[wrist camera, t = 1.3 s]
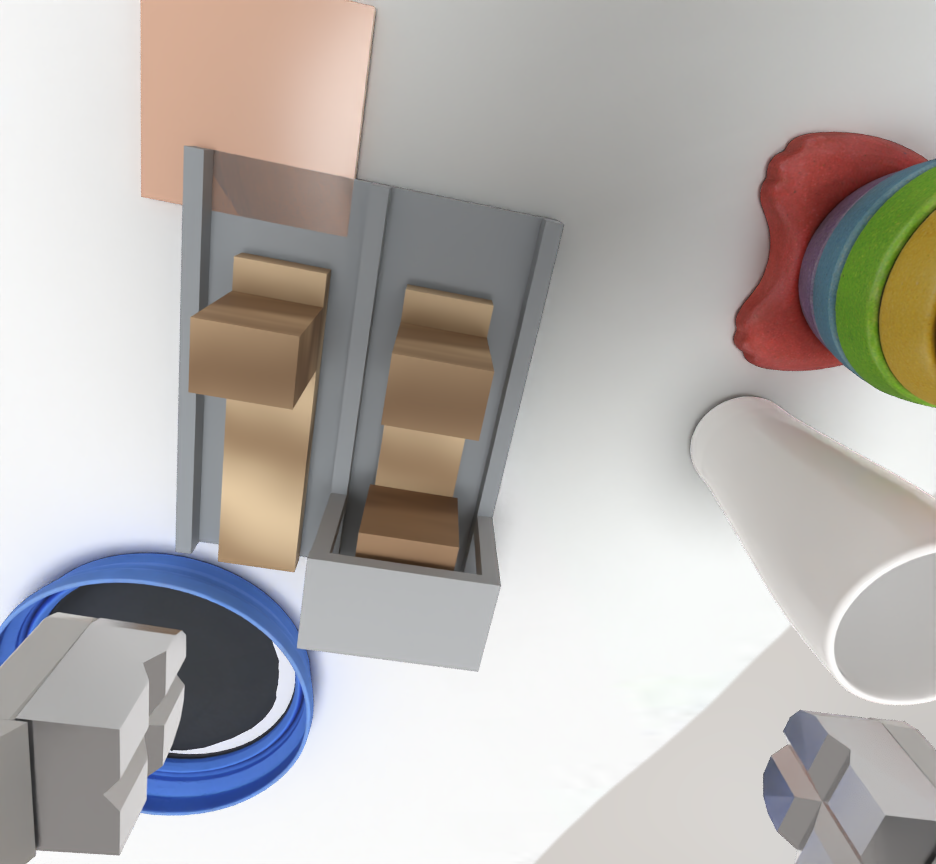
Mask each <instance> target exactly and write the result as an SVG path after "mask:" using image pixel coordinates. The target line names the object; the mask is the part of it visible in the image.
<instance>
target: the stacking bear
mask: <svg viewBox="0 0 936 864" xmlns="http://www.w3.org/2000/svg"><path fill="white" fill-rule="evenodd" d="M760 200H761V205H762V208H763V210H764V213H765V216H766V219H767V222H768V225H769V231H770V254H769V259H768V263H767V266H766V269H765V272H764V275H763V277H762V279H761V281H760V283H759V285H758V286H757V287H756V289H755V290H754V292H753V293H752V294H751V295H750V297H749V298H748V299H747V300H746V302H745V303H744V304H743V305H742V307H741V309H740V311H739V312H738V314H737V317H736V327H737V330H736V333H735V336H734V343H735V345H736V347H737V348H738V349H739V350H742V351H743V354H744V356H745V358H746V359H747V361H749V362H750V363H752V364H754V365H756V366H758V367H761V368H765V369H772V370H782V371H808V370H817V369H824V368H830V367H835V366H840V365H844V366H845V367H847V368H848V369H849V370H851V371H852V372H853V373H854V374H856V375H857V376H858V377H860V378H861V379H863V380H864V381H866V382H867V383H869V384H870V385H872V386H873V387H875V388H877V389H878V390H880V391H882V392H884V393H887V394H889V395H892V396H895V397H897V398H900V399H903V400H907V401H910V402H913V403H917V404H921V405H925V406H930V407H935V408H936V159H933V160H930V161H928V160H927V159H925V158H924V157H922V156H921V155H919V154H917V153H916V152H914V151H912V150H910V149H908V148H906V147H904V146H901V145H899V144H897V143H894V142H892V141H889V140H885V139H882V138H878V137H874V136H869V135H863V134H856V133H843V132H820V133H810V134H805V135H802V136H799V137H796V138H795V139H793V140H792V141H791V142H790V143H789V144H788V146H787V147H786V149H785V150H784V151H783V152H781V153H779V154H777V155H775V156H774V157H773V159H772V160H771V161H770V163H769V165H768V169H767V177H766V179H765V181H764V182H763V184H762V187H761V192H760Z"/></svg>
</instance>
